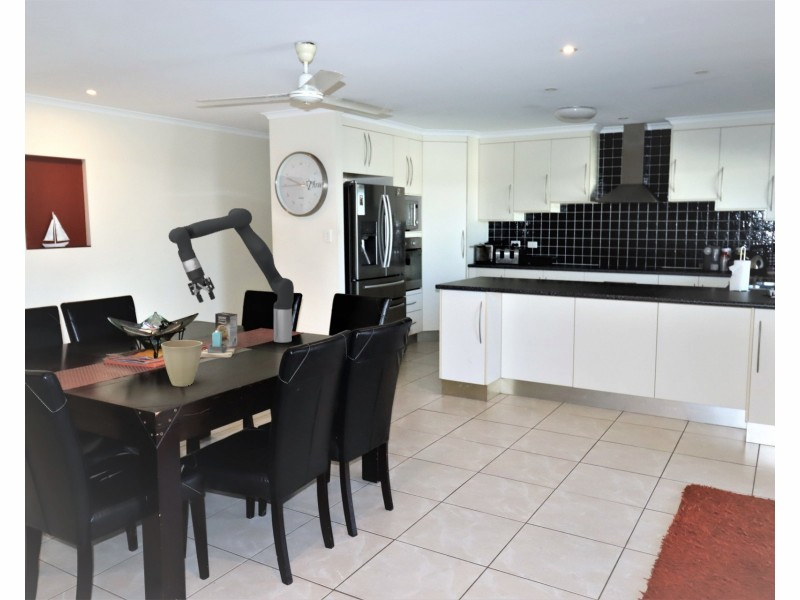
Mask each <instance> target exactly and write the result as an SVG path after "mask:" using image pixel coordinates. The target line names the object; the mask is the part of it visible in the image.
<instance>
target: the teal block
mask: <svg viewBox="0 0 800 600" xmlns="http://www.w3.org/2000/svg"><path fill="white" fill-rule="evenodd" d="M211 337H212V338H211V339H212V340H211V341H212V347H222V332H219V331H213V332H212V334H211Z"/></svg>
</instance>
